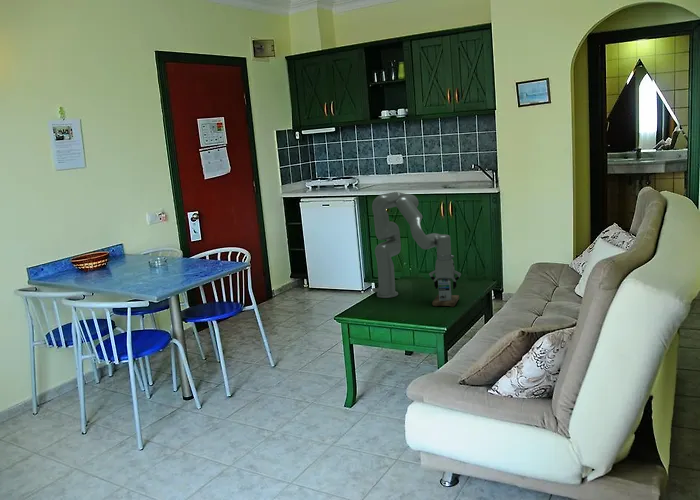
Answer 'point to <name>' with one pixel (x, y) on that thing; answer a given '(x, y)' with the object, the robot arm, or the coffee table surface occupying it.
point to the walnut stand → (446, 303)
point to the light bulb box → (444, 289)
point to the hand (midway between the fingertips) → (445, 288)
